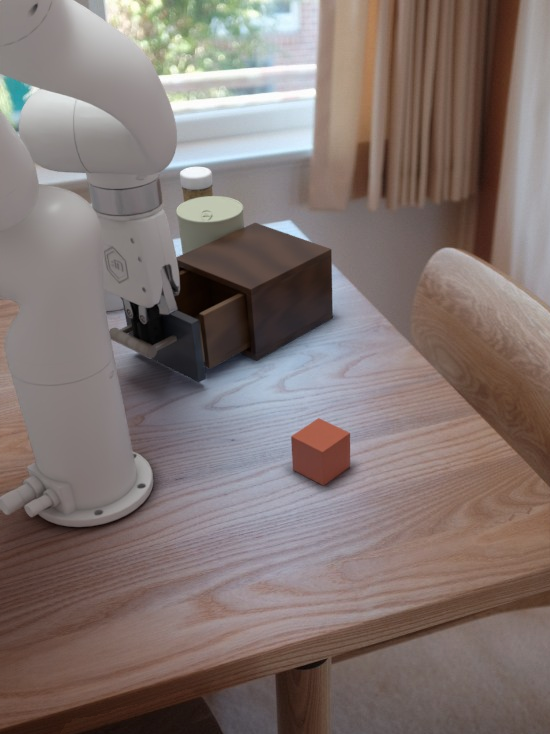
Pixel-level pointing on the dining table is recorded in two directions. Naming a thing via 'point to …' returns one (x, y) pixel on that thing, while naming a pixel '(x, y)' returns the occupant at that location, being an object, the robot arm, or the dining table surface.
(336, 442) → the block
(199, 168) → the sprinkles bottle
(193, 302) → the drawer
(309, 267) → the cabinet
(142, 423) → the dining table surface
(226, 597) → the dining table surface
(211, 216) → the can
